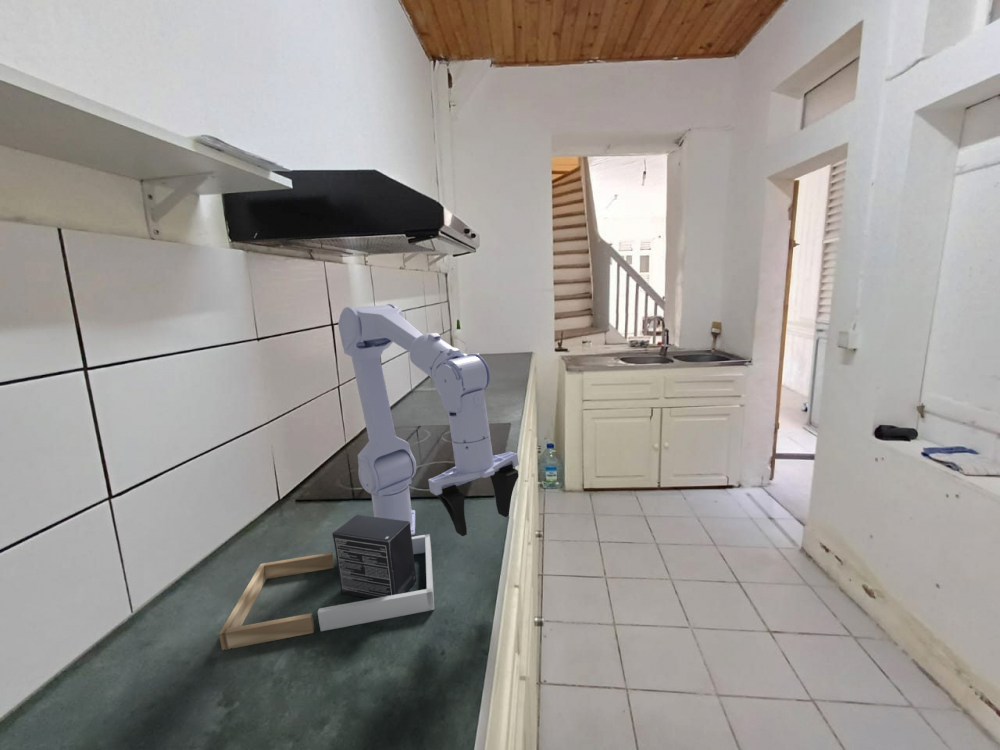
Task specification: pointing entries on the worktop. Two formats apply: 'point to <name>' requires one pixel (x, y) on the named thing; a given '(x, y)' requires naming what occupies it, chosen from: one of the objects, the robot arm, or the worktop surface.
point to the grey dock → (384, 600)
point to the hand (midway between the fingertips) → (483, 523)
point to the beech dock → (274, 629)
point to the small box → (374, 557)
